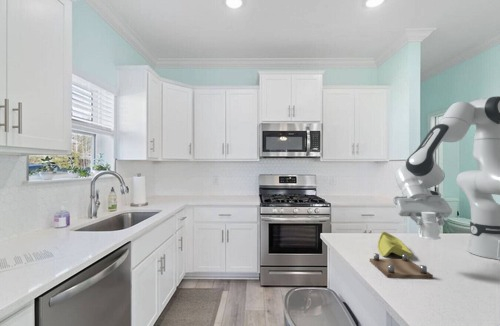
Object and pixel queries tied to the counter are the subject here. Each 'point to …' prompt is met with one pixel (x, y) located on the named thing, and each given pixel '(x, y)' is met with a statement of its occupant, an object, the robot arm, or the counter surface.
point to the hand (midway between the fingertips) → (431, 224)
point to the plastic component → (392, 245)
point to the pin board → (400, 268)
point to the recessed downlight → (429, 226)
